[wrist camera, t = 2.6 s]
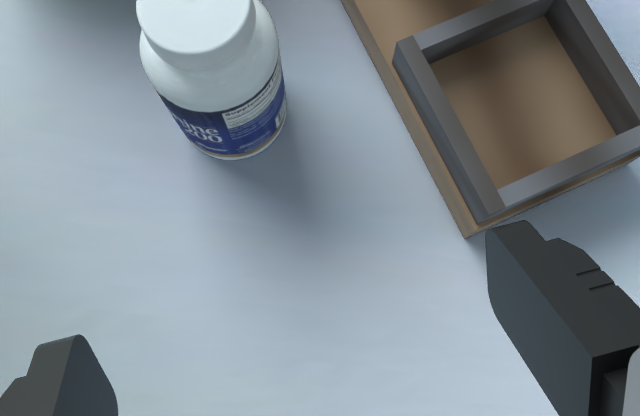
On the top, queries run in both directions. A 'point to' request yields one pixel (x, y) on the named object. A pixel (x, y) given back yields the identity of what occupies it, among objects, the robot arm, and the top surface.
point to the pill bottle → (216, 71)
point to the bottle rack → (503, 97)
